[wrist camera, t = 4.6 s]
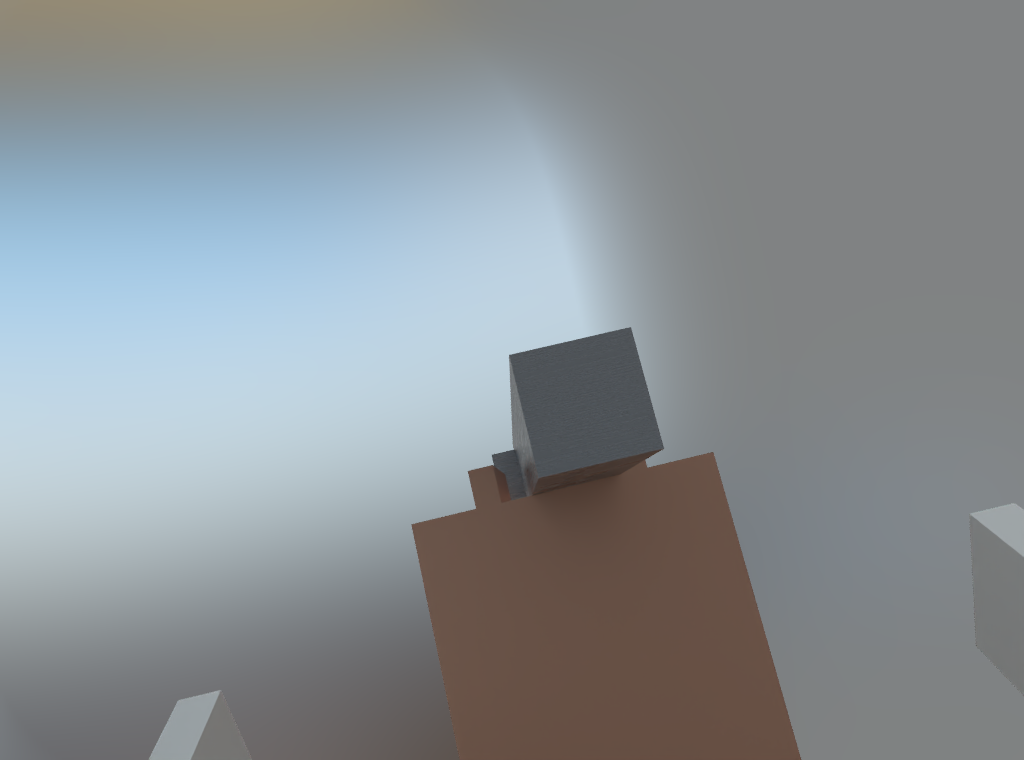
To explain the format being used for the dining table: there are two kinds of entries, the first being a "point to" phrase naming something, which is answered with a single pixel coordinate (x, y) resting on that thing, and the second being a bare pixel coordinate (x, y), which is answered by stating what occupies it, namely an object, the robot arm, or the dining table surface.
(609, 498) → the stand
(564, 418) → the t bar
